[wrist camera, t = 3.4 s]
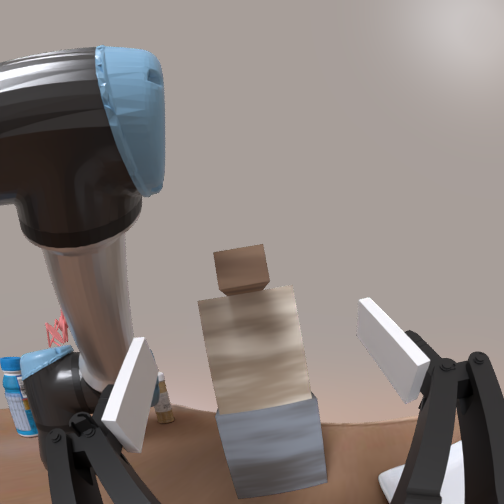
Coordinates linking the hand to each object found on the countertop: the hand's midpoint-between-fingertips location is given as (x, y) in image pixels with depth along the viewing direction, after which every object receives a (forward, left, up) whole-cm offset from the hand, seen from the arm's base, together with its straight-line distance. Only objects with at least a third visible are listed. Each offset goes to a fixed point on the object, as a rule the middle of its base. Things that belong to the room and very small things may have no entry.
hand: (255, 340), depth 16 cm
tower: (-15, +18, -24) cm, 34 cm away
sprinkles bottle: (-51, +21, -24) cm, 61 cm away
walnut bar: (-12, +15, +4) cm, 19 cm away
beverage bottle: (-65, -15, -24) cm, 71 cm away
